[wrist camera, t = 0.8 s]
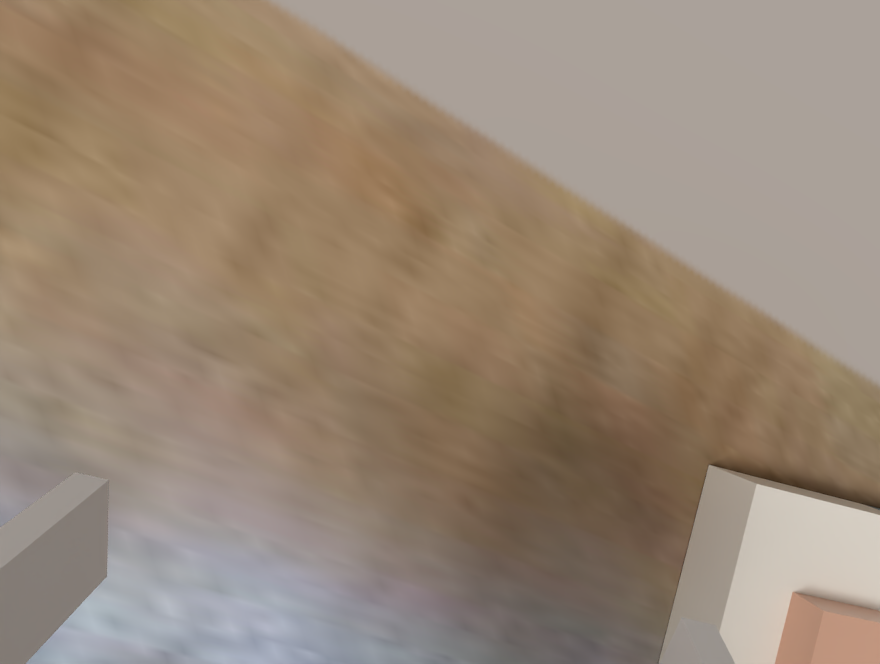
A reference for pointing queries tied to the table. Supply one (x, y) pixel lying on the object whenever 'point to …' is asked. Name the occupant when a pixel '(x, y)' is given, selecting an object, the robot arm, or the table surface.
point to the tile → (829, 633)
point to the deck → (771, 559)
